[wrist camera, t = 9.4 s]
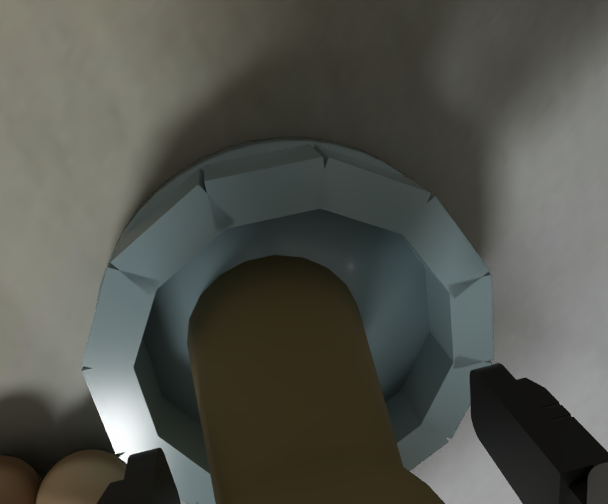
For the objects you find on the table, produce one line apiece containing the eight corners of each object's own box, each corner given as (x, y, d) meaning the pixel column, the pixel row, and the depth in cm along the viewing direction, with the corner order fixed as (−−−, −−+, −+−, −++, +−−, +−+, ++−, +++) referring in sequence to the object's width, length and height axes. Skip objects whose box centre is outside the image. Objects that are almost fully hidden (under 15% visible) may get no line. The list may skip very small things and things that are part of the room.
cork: (332, 228, 17) (521, 506, 7) (379, 371, 19) (567, 734, 9) (156, 293, 16) (76, 682, 6) (225, 430, 19) (244, 867, 9)
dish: (45, 182, 16) (8, 213, 13) (445, 102, 17) (494, 114, 14) (160, 488, 21) (153, 560, 18) (462, 410, 22) (500, 465, 19)
